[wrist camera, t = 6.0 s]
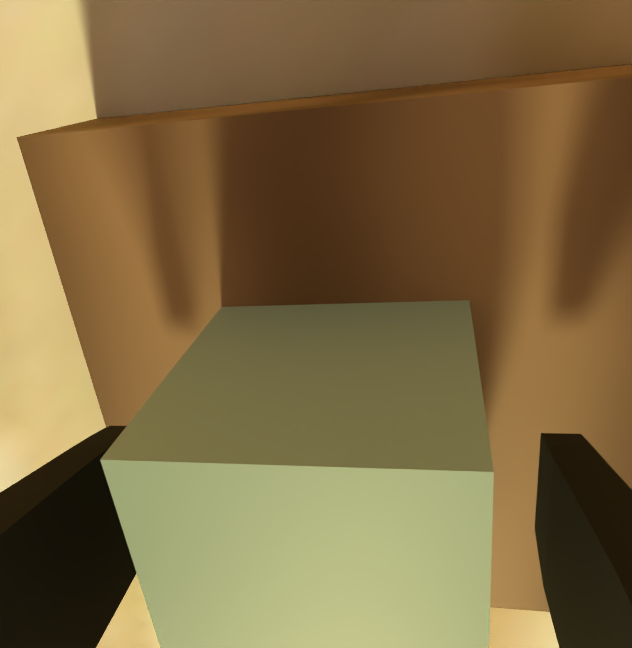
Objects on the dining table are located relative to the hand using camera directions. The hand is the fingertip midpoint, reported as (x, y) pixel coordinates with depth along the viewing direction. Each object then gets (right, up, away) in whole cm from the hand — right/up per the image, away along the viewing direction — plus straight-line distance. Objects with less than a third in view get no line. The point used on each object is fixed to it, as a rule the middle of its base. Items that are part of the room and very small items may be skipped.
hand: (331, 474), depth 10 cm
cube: (0, +1, +2) cm, 2 cm away
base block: (+1, +2, +5) cm, 5 cm away
